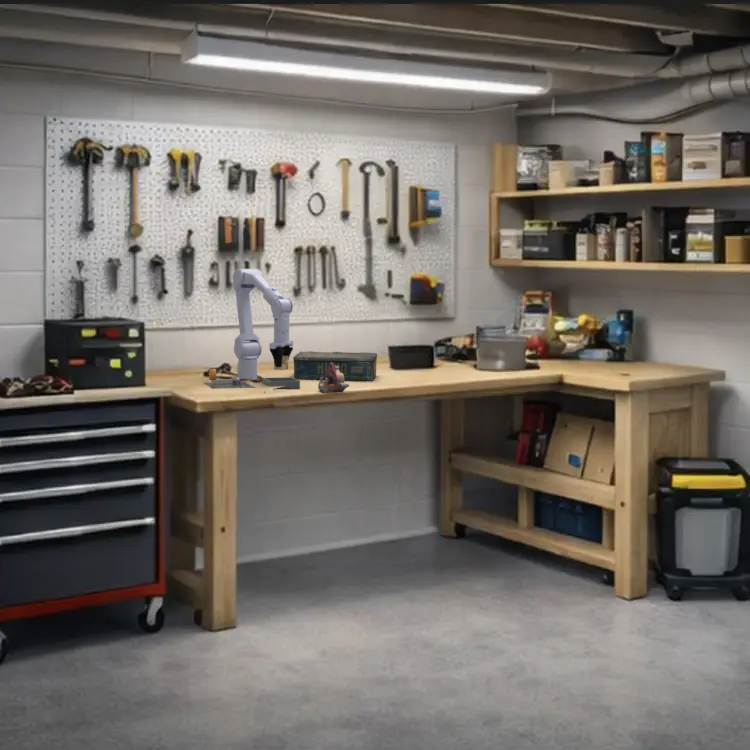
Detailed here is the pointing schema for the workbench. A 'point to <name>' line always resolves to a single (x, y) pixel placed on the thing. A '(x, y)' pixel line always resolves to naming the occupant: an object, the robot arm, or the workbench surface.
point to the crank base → (228, 385)
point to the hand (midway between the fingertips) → (281, 366)
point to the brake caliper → (333, 381)
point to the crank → (213, 379)
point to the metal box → (349, 364)
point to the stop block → (283, 364)
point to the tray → (282, 382)
